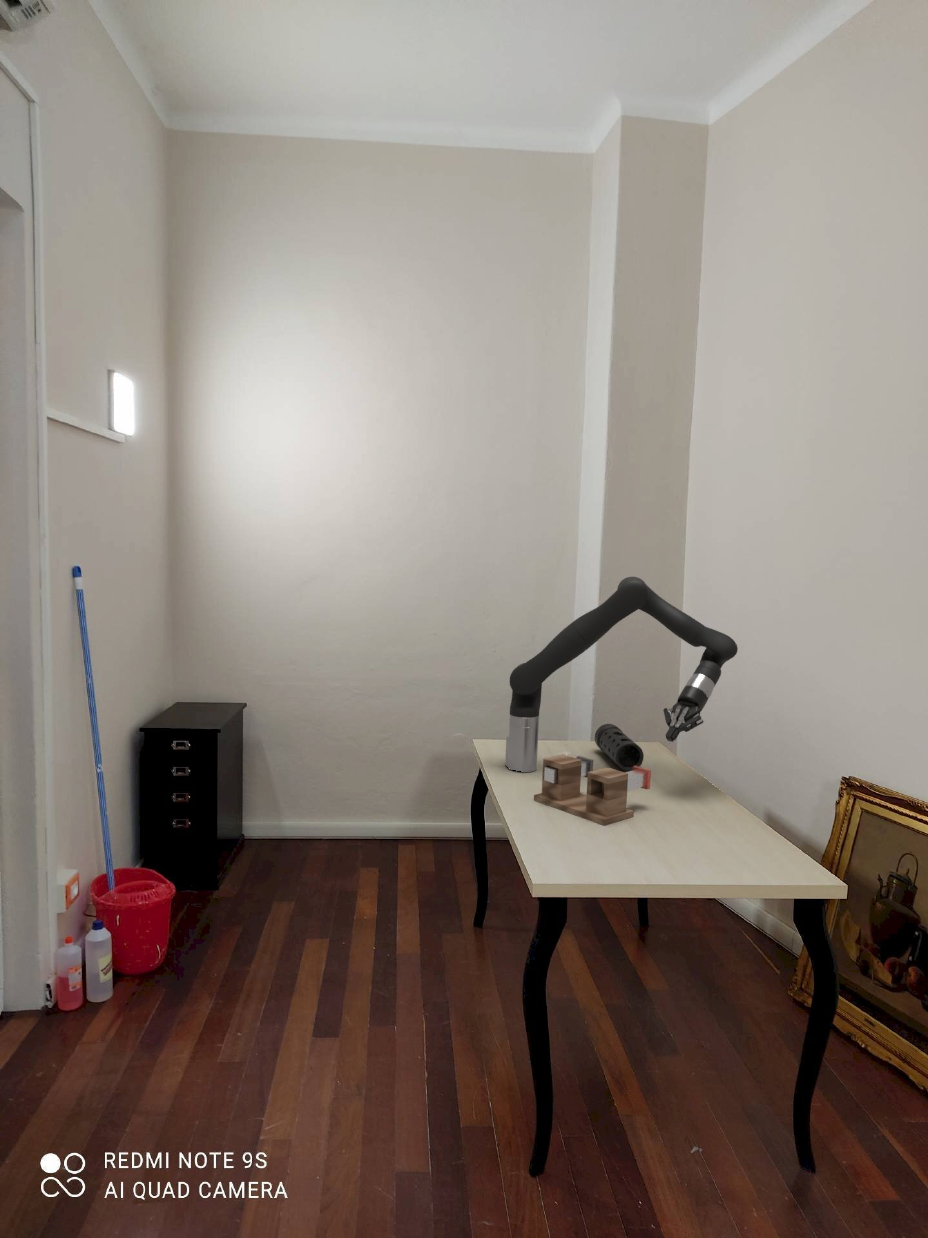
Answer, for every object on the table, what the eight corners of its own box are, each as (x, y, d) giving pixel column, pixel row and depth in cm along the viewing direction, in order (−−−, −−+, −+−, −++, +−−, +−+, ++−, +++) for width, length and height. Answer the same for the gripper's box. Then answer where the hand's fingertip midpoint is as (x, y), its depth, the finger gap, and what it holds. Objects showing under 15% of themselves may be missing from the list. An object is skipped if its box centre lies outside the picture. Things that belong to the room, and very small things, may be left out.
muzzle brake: (613, 774, 264) (615, 742, 263) (592, 751, 291) (593, 722, 290) (643, 774, 265) (645, 742, 263) (619, 751, 292) (620, 722, 291)
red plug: (599, 793, 224) (600, 774, 224) (634, 784, 234) (635, 765, 234) (614, 798, 221) (615, 779, 220) (649, 788, 231) (651, 770, 230)
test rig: (533, 800, 234) (535, 758, 233) (562, 792, 242) (564, 752, 241) (604, 825, 216) (606, 780, 215) (633, 816, 224) (636, 773, 222)
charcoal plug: (541, 782, 233) (542, 763, 232) (578, 773, 243) (579, 755, 242) (555, 787, 229) (556, 768, 229) (592, 777, 239) (593, 759, 239)
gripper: (672, 681, 249) (644, 727, 242) (711, 688, 239) (684, 736, 232) (681, 697, 253) (654, 743, 246) (721, 704, 243) (694, 752, 236)
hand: (669, 739), depth 239 cm, fingers closed
